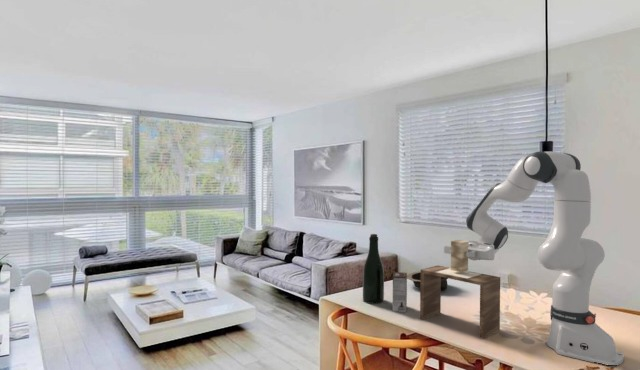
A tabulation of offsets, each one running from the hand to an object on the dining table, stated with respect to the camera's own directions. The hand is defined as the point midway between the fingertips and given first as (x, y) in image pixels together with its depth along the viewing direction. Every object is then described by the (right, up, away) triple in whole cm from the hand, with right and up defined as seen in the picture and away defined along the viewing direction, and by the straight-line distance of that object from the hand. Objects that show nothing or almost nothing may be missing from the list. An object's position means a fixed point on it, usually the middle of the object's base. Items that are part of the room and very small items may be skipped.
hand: (458, 253), depth 163 cm
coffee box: (-20, -29, +20) cm, 41 cm away
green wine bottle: (-31, -29, +32) cm, 53 cm away
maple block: (+1, -7, +1) cm, 7 cm away
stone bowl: (+3, -29, +57) cm, 64 cm away
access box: (0, -29, +1) cm, 30 cm away
